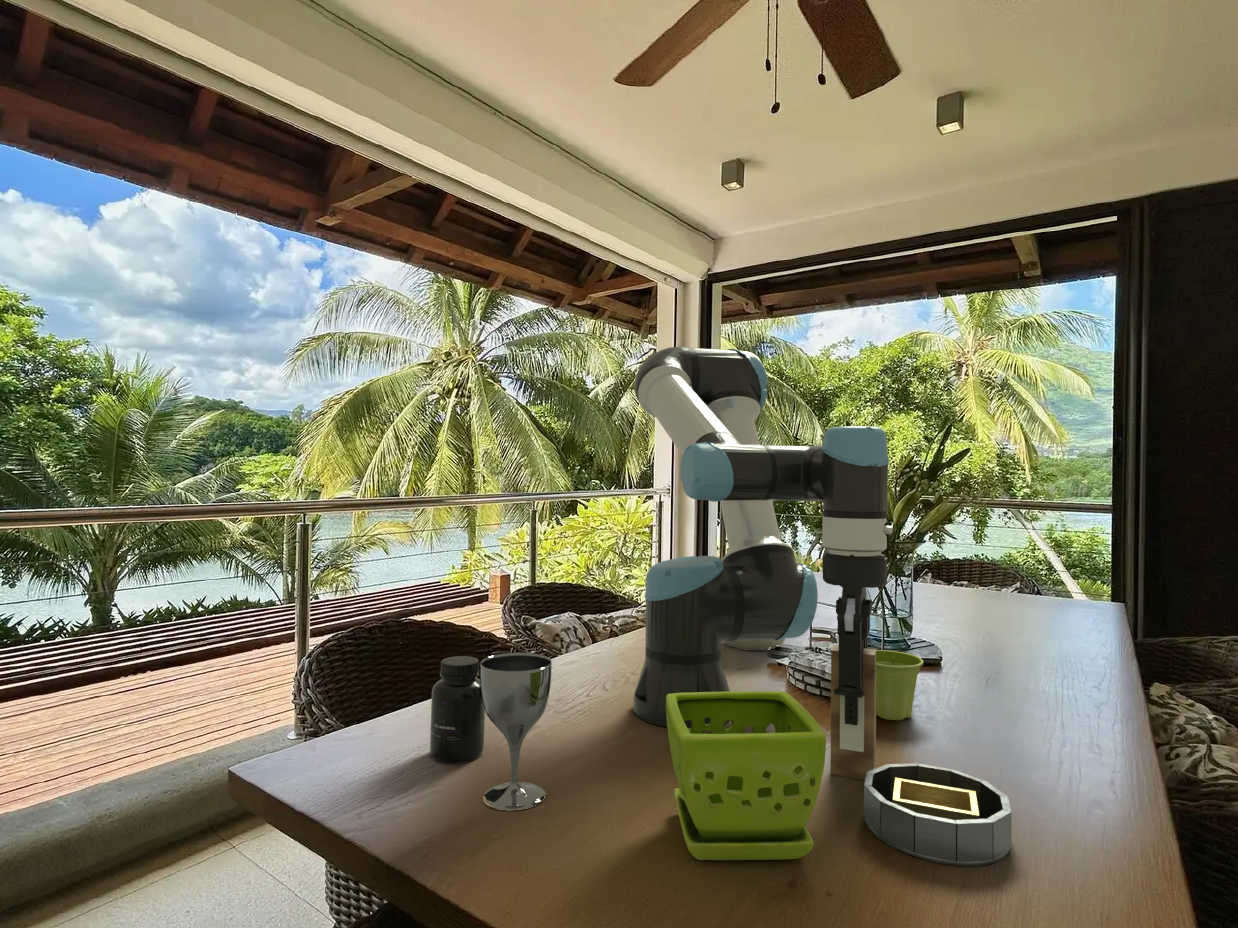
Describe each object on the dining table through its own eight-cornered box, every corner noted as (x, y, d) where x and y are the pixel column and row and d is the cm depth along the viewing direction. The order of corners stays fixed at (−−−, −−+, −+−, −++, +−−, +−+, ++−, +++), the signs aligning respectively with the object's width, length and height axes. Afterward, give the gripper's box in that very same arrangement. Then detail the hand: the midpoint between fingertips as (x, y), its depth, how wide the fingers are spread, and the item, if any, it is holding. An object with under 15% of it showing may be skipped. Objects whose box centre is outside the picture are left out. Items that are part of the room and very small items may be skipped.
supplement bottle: (430, 767, 86) (431, 668, 86) (429, 746, 92) (431, 655, 92) (486, 761, 88) (488, 665, 88) (482, 741, 94) (484, 652, 94)
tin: (859, 846, 68) (859, 805, 68) (869, 790, 81) (870, 755, 81) (1017, 880, 63) (1017, 835, 63) (1002, 814, 75) (1002, 777, 75)
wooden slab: (830, 773, 85) (831, 650, 85) (833, 764, 88) (834, 645, 88) (873, 781, 83) (874, 655, 83) (875, 771, 86) (876, 649, 86)
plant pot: (929, 727, 102) (929, 667, 102) (861, 722, 104) (861, 663, 104) (915, 706, 111) (915, 651, 111) (853, 702, 113) (853, 648, 113)
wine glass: (516, 774, 84) (518, 649, 84) (564, 794, 79) (566, 660, 79) (463, 797, 78) (465, 662, 78) (511, 820, 73) (513, 675, 73)
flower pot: (788, 804, 77) (789, 688, 77) (830, 876, 63) (831, 735, 63) (661, 804, 77) (663, 688, 77) (676, 877, 63) (678, 735, 63)
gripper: (883, 560, 77) (882, 774, 77) (890, 547, 92) (889, 727, 91) (813, 556, 80) (811, 762, 80) (831, 544, 95) (829, 718, 94)
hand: (853, 743), depth 86 cm, fingers closed on wooden slab, 3 cm apart
